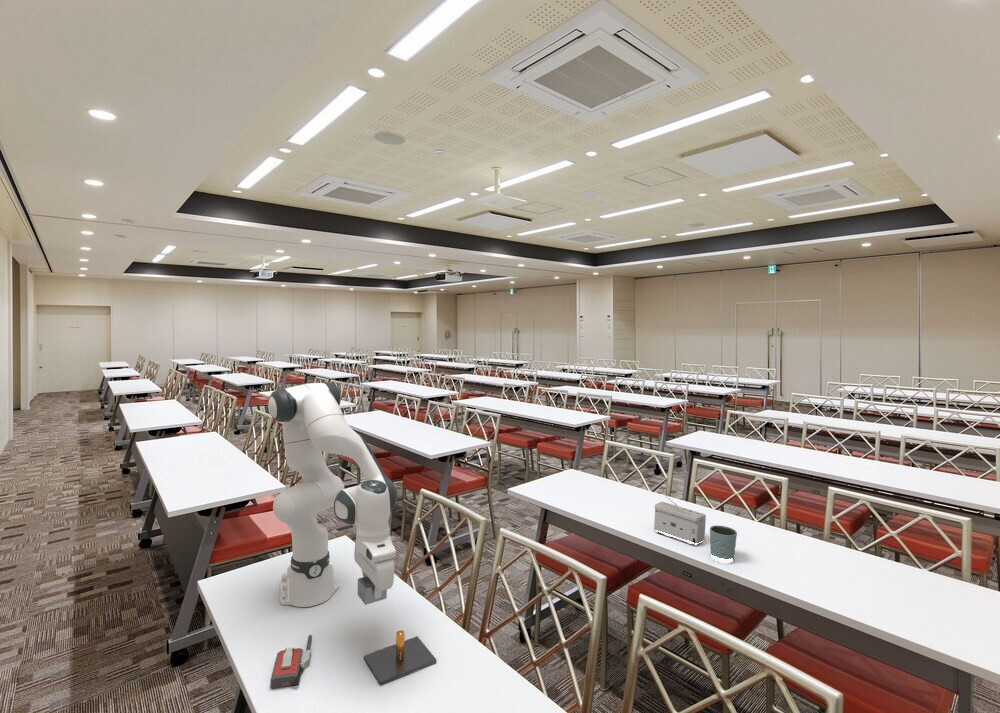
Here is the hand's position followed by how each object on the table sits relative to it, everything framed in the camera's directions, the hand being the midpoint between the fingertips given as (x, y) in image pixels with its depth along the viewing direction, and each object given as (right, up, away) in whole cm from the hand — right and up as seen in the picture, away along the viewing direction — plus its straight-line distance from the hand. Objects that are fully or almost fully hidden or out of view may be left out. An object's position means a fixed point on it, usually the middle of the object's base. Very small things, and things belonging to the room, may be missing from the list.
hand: (372, 590), depth 136 cm
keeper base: (+8, -19, 0) cm, 21 cm away
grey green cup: (+125, -18, +66) cm, 142 cm away
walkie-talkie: (-21, -19, -2) cm, 28 cm away
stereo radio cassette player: (+114, -17, +85) cm, 143 cm away
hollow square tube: (0, -2, 0) cm, 2 cm away
